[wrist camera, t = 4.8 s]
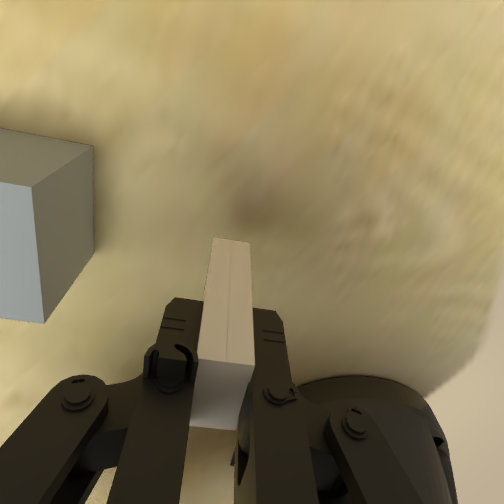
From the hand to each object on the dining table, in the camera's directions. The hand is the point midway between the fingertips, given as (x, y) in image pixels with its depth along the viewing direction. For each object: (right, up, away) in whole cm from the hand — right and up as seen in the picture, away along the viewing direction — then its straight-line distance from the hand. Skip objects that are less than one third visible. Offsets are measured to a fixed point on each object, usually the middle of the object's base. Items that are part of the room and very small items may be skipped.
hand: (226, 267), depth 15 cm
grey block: (-10, +4, +3) cm, 11 cm away
